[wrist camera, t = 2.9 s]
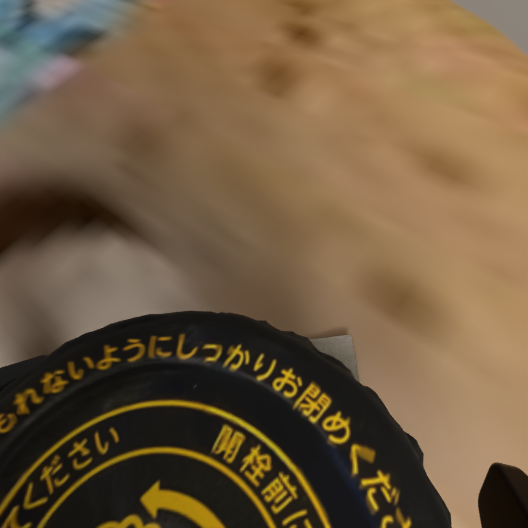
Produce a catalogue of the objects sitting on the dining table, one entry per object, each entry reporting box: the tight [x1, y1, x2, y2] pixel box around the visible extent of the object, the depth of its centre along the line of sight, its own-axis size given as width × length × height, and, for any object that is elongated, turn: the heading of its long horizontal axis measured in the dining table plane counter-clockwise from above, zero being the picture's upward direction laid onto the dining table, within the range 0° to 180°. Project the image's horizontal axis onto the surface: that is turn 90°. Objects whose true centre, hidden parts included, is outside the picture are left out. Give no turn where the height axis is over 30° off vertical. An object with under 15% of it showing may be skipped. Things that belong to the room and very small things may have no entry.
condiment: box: [0, 311, 452, 528], centre depth 9 cm, size 7×8×12 cm
